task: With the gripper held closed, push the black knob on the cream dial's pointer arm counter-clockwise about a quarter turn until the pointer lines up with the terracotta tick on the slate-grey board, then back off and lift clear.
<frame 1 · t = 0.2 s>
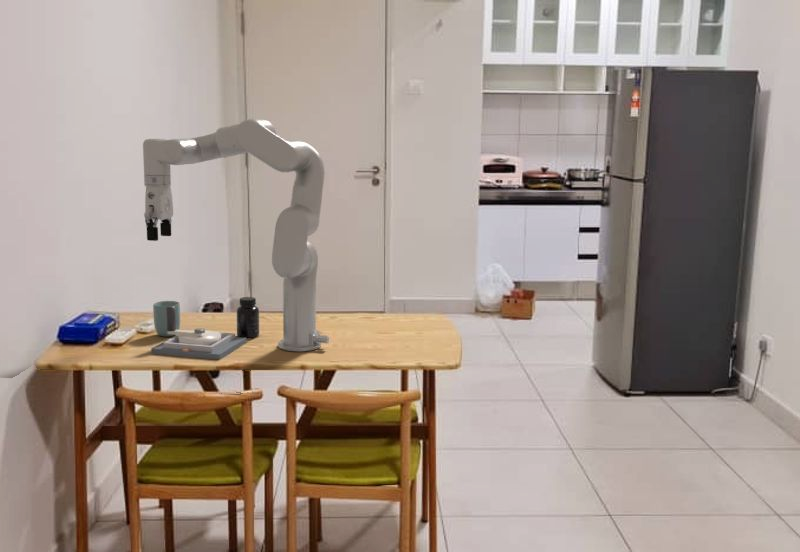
hand: (159, 238, 234), 30 cm above the table, fingers open, 9 cm apart
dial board: (200, 347, 227), on the table
cup: (167, 335, 240), on the table
dial: (192, 325, 227), point 7 cm above the table, hinge at 0.0°
supplement bottle: (248, 336, 241), on the table
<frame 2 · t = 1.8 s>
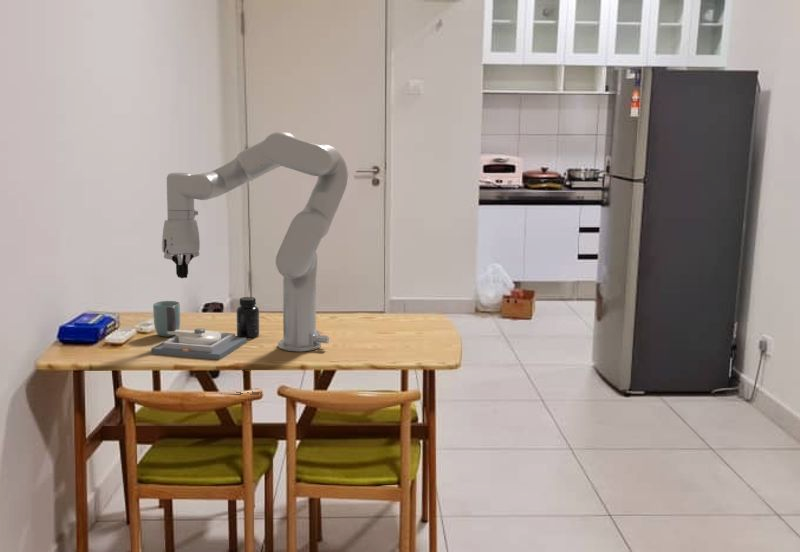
hand: (182, 277, 230), 20 cm above the table, fingers closed
nothing on the table moved.
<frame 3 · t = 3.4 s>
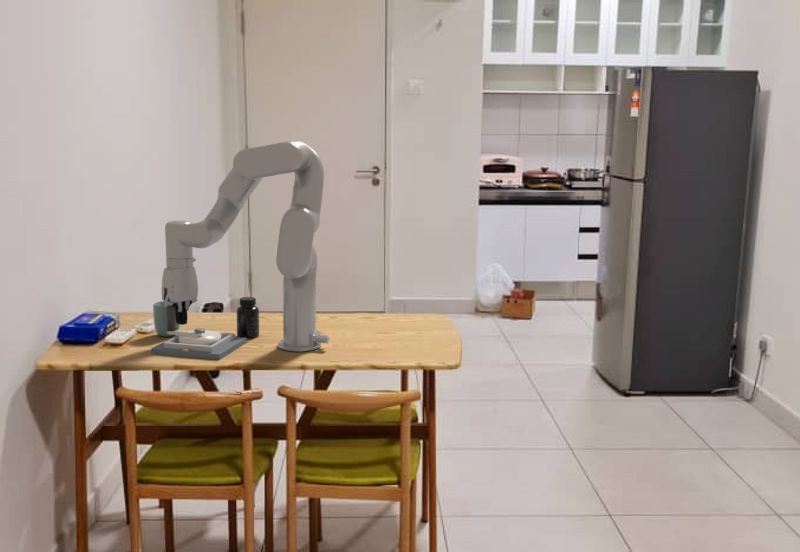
hand: (181, 323, 232), 6 cm above the table, fingers closed
dial: (192, 325, 227), point 7 cm above the table, hinge at 0.4°, touching gripper
everything else where it was.
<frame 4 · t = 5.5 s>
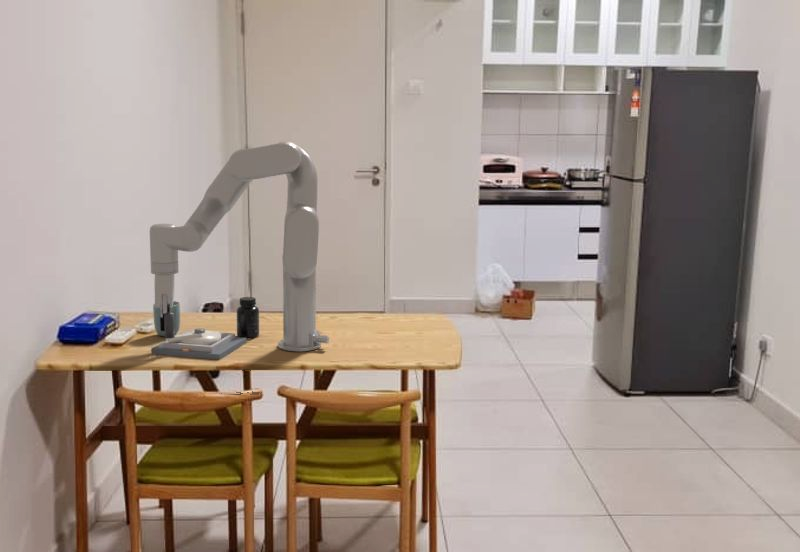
hand: (166, 330, 225), 6 cm above the table, fingers closed
dial: (192, 326, 225), point 7 cm above the table, hinge at 51.1°, touching gripper
everything else where it was.
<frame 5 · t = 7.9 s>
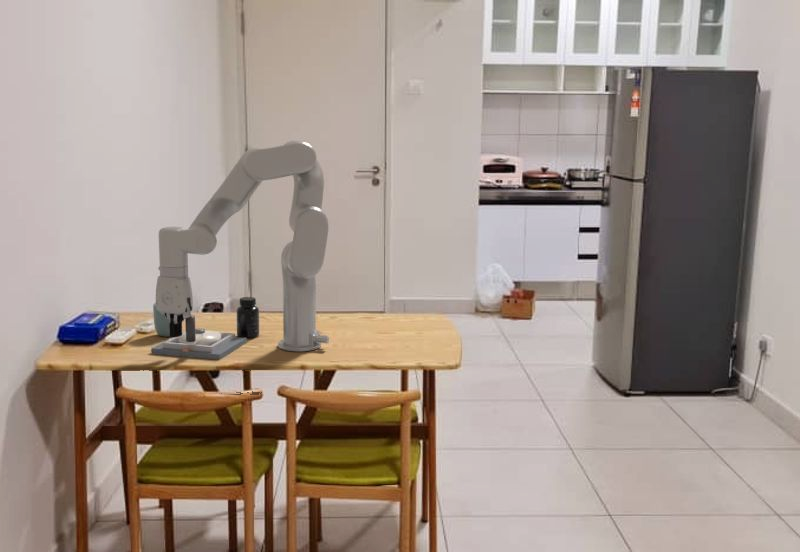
hand: (176, 336, 219), 6 cm above the table, fingers closed
dial: (197, 327, 224), point 7 cm above the table, hinge at 101.3°, touching gripper
everything else where it was.
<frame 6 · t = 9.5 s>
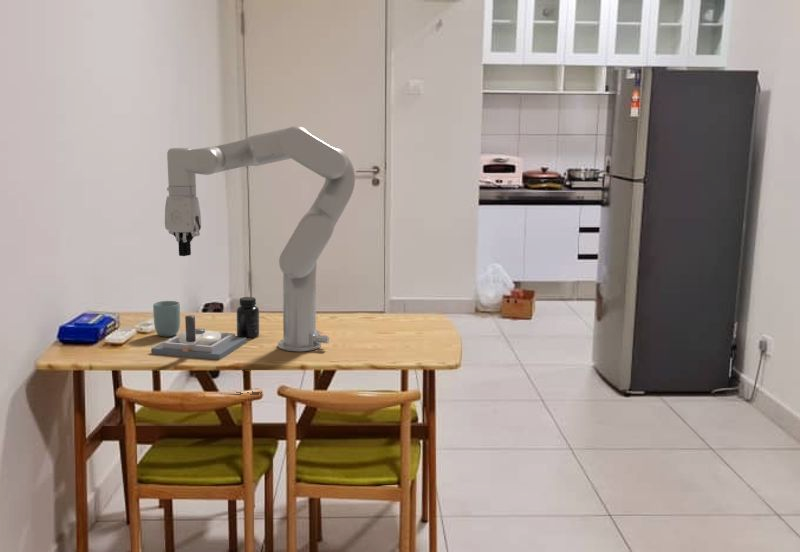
hand: (184, 255, 225), 27 cm above the table, fingers closed
dial: (197, 327, 224), point 7 cm above the table, hinge at 101.3°
everything else where it was.
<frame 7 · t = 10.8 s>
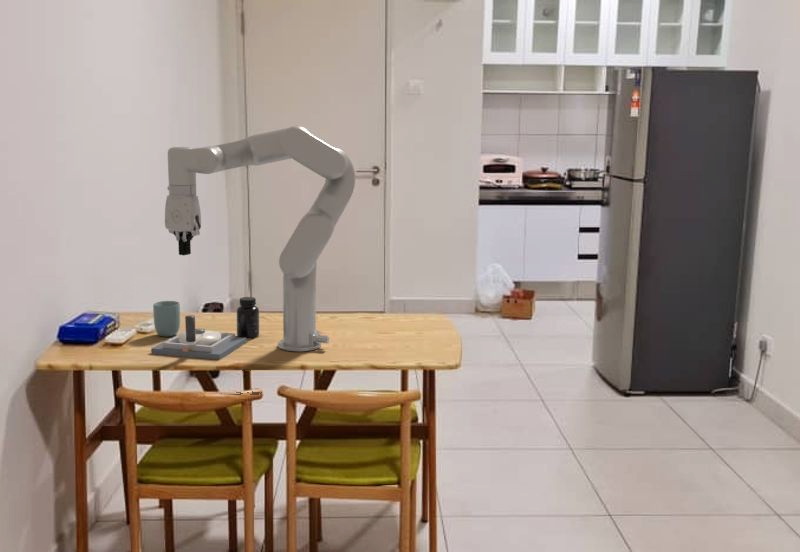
hand: (184, 254, 225), 27 cm above the table, fingers closed
nothing on the table moved.
at the end: dial at +101° (first picture: +0°) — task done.
